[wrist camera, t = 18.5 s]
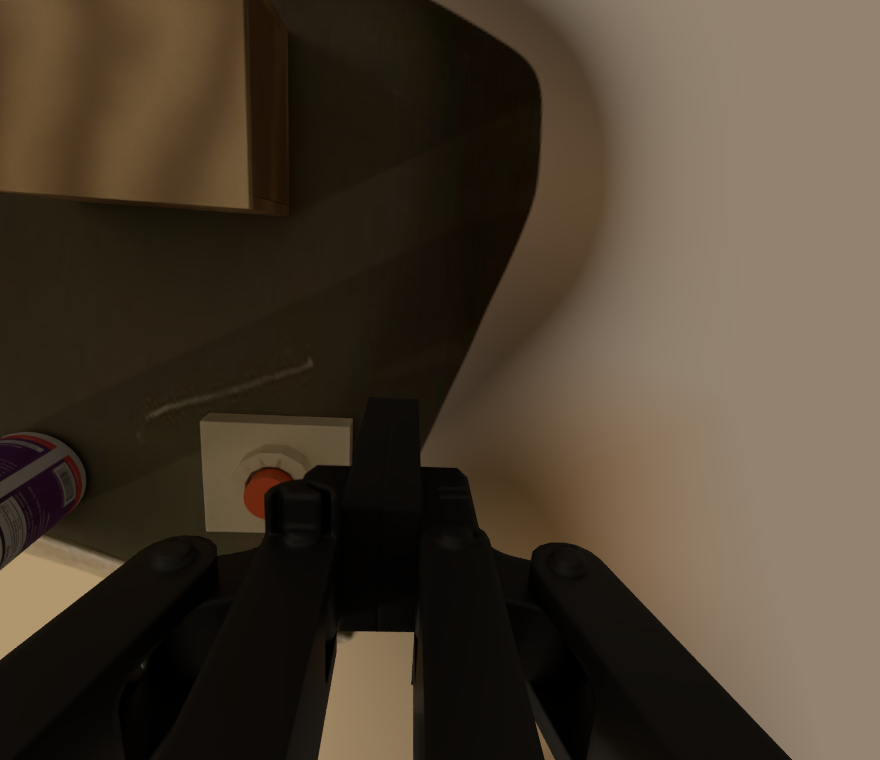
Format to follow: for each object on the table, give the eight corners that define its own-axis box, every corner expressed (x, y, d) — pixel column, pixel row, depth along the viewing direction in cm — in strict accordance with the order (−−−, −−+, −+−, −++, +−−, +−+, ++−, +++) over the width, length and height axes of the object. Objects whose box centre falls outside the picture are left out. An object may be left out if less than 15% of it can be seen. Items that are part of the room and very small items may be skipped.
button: (295, 468, 41) (290, 478, 39) (295, 508, 42) (290, 520, 40) (249, 467, 41) (242, 477, 39) (250, 507, 42) (243, 519, 40)
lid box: (76, 201, 38) (-32, 189, 29) (54, 6, 35) (-76, -80, 25) (289, 216, 39) (253, 209, 30) (288, 29, 36) (246, -44, 27)
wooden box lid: (-58, 187, 28) (-70, 185, 27) (-107, -89, 25) (-122, -100, 24) (253, 209, 30) (249, 209, 29) (246, -45, 27) (242, -54, 26)
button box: (353, 418, 44) (348, 435, 40) (350, 521, 47) (345, 546, 43) (209, 412, 43) (190, 429, 39) (215, 518, 46) (197, 543, 42)
